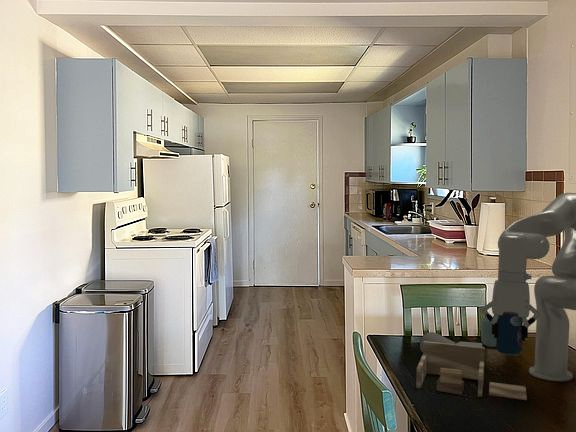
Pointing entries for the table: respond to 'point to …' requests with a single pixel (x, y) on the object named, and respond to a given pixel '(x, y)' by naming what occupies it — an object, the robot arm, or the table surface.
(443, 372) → the offcut oak
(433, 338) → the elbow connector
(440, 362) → the rack
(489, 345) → the cup
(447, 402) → the table surface
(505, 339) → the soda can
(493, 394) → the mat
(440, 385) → the offcut walnut
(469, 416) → the table surface
